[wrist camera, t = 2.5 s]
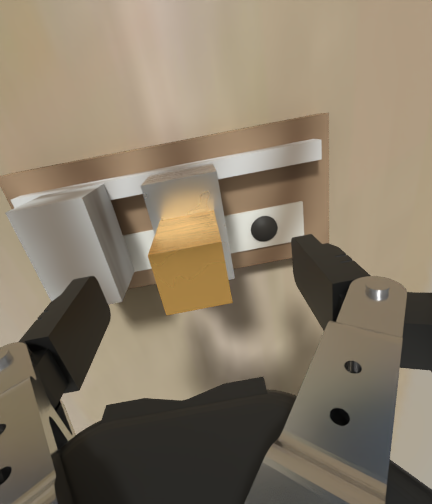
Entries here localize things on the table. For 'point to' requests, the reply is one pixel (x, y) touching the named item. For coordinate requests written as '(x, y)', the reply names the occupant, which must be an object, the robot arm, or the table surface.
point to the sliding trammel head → (188, 239)
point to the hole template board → (136, 214)
